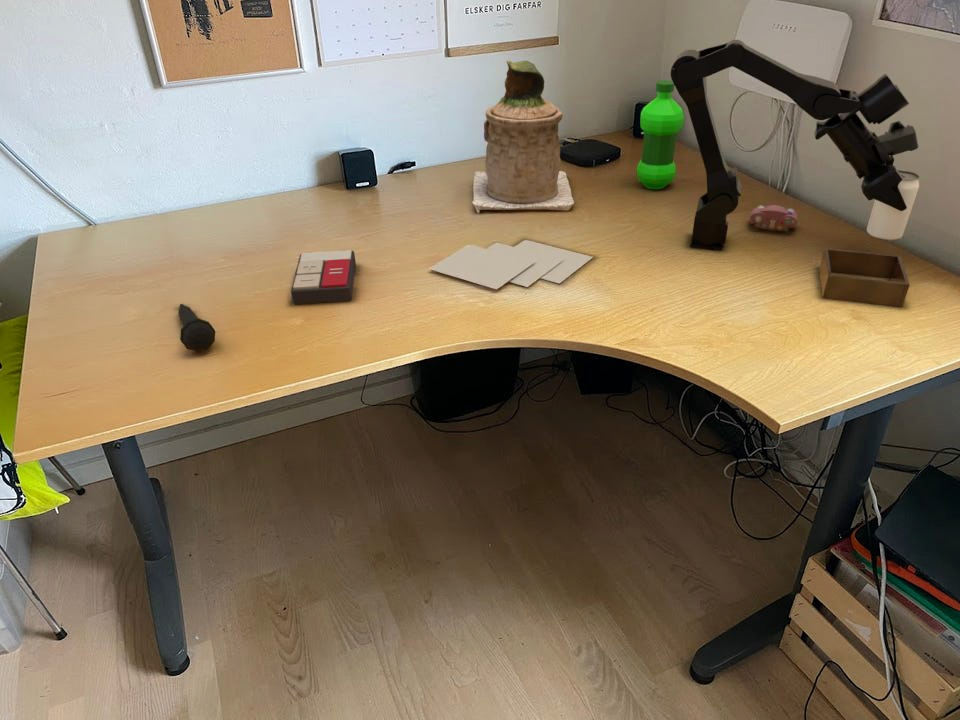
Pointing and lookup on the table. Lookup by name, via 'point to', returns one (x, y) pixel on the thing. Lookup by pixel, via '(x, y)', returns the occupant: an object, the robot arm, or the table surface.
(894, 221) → the can
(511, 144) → the cookie jar
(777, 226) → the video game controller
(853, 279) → the tray
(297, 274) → the calculator
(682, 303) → the table surface
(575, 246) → the table surface
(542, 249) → the paper stack
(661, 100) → the plastic bottle
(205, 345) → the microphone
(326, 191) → the table surface
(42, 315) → the table surface
